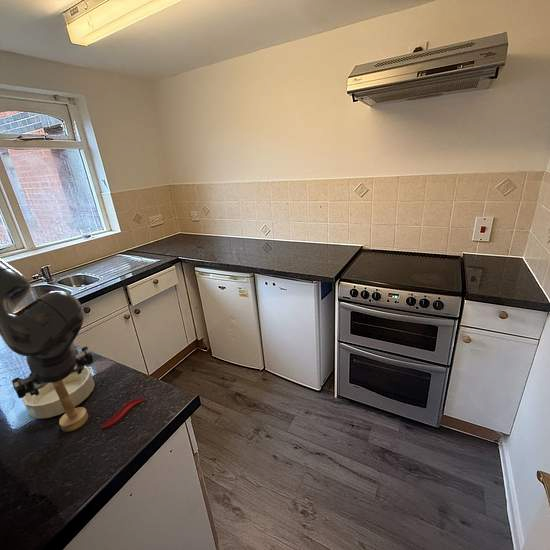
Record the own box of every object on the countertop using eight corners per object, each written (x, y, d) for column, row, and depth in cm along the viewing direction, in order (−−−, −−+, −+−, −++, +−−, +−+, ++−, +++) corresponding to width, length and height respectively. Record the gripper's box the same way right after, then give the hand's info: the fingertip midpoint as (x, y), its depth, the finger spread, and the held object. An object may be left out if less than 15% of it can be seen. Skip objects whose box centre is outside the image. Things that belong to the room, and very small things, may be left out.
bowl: (18, 428, 77) (10, 413, 76) (42, 387, 92) (36, 374, 90) (88, 408, 82) (81, 394, 80) (100, 372, 96) (95, 359, 94)
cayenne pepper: (143, 395, 84) (142, 390, 83) (149, 404, 81) (147, 399, 80) (97, 420, 77) (94, 415, 76) (101, 431, 74) (98, 425, 73)
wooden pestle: (58, 434, 74) (35, 387, 69) (66, 417, 80) (44, 371, 74) (85, 426, 76) (64, 379, 70) (90, 409, 81) (71, 364, 76)
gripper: (83, 325, 64) (83, 351, 75) (-3, 360, 54) (12, 384, 66) (100, 354, 62) (97, 376, 74) (15, 395, 53) (27, 414, 64)
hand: (57, 380), depth 70 cm, fingers open, 8 cm apart
